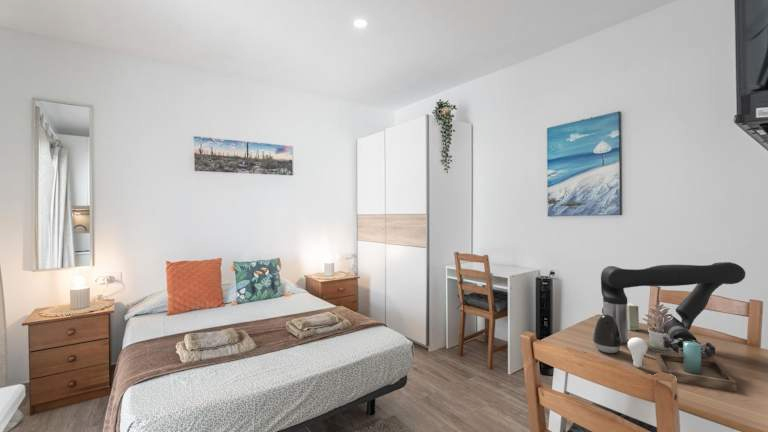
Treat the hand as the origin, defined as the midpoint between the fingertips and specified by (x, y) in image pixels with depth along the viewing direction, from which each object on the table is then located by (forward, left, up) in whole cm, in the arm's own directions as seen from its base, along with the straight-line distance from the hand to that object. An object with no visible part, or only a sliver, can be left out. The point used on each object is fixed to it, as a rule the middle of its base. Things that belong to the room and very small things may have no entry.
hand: (693, 352), depth 123 cm
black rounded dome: (-25, +13, -9) cm, 29 cm away
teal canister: (0, +2, -7) cm, 8 cm away
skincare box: (-13, +52, -9) cm, 54 cm away
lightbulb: (-16, 0, -9) cm, 18 cm away
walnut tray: (0, +2, -8) cm, 9 cm away
